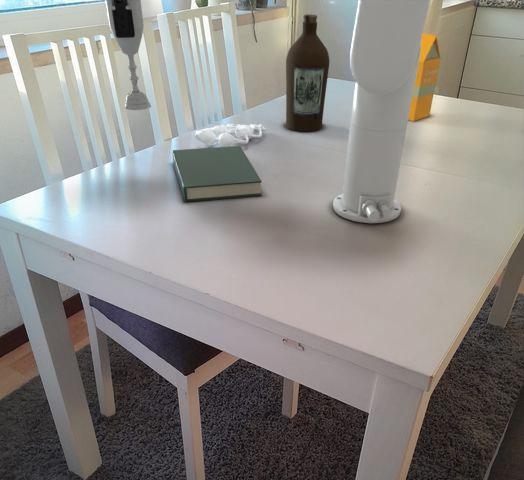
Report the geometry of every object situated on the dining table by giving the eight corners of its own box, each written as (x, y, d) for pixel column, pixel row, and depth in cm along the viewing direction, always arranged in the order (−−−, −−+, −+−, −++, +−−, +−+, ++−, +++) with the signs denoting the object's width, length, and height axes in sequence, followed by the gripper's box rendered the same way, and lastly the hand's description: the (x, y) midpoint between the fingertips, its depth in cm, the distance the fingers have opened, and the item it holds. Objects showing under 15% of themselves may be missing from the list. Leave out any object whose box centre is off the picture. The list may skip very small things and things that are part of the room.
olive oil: (282, 120, 146) (286, 11, 130) (321, 120, 146) (329, 12, 130) (285, 132, 137) (289, 18, 122) (326, 132, 138) (336, 18, 122)
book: (261, 195, 106) (261, 181, 104) (184, 202, 103) (183, 187, 101) (240, 159, 122) (240, 145, 120) (173, 163, 119) (172, 150, 117)
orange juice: (403, 109, 156) (416, 29, 143) (429, 116, 151) (445, 34, 138) (387, 114, 152) (399, 32, 139) (413, 121, 147) (428, 37, 134)
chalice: (152, 111, 99) (137, -5, 88) (115, 111, 100) (96, -5, 88) (159, 101, 105) (146, -10, 94) (124, 101, 105) (107, -9, 94)
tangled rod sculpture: (235, 129, 143) (234, 112, 140) (280, 135, 135) (279, 118, 133) (184, 146, 130) (182, 128, 128) (231, 154, 123) (229, 134, 120)
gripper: (128, -101, 77) (145, 42, 88) (138, -98, 91) (152, 26, 102) (74, -101, 77) (99, 43, 88) (93, -97, 90) (112, 27, 101)
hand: (127, 33), depth 95 cm, fingers closed on chalice, 6 cm apart
